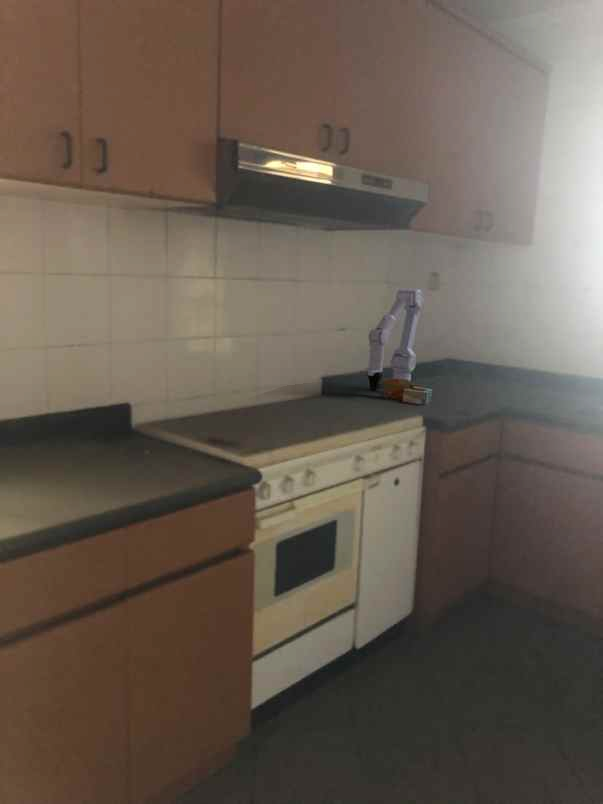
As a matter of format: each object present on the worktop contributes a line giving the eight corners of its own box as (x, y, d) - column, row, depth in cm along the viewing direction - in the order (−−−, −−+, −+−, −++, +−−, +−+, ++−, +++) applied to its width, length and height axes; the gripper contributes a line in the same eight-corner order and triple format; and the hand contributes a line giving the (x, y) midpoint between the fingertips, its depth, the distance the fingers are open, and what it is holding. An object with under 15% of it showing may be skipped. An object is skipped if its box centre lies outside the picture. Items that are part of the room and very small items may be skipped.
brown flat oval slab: (375, 396, 274) (377, 376, 272) (377, 395, 277) (379, 375, 275) (412, 401, 270) (414, 380, 268) (413, 400, 273) (415, 379, 271)
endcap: (408, 397, 276) (409, 386, 275) (430, 401, 273) (432, 389, 272) (402, 401, 267) (403, 389, 266) (426, 405, 264) (427, 392, 263)
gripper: (372, 355, 281) (369, 386, 284) (362, 359, 268) (359, 392, 271) (388, 357, 279) (385, 389, 282) (378, 361, 266) (375, 394, 268)
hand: (373, 390), depth 276 cm, fingers closed, pressing on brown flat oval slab
